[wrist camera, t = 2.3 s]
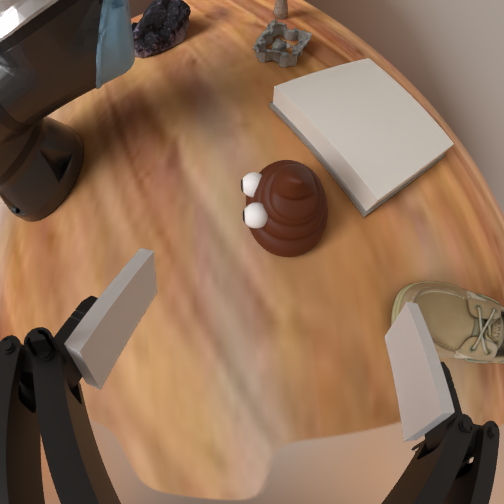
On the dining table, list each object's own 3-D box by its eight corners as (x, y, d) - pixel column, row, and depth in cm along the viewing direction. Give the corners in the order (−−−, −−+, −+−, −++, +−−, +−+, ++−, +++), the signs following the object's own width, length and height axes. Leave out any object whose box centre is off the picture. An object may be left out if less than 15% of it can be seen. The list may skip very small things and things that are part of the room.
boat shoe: (374, 340, 26) (414, 347, 18) (395, 263, 28) (436, 246, 20) (496, 373, 24) (532, 377, 16) (509, 316, 26) (545, 312, 18)
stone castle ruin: (273, 34, 37) (274, 17, 33) (312, 45, 37) (316, 27, 33) (247, 60, 35) (247, 40, 31) (292, 72, 34) (295, 53, 30)
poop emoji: (328, 256, 28) (361, 229, 19) (246, 262, 28) (243, 236, 19) (315, 171, 30) (335, 121, 21) (240, 174, 30) (236, 121, 21)
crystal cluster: (112, 64, 37) (95, 29, 27) (144, 24, 39) (135, -8, 29) (173, 65, 37) (163, 24, 27) (202, 25, 39) (198, -12, 29)
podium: (269, 106, 32) (270, 85, 28) (361, 73, 35) (368, 56, 31) (363, 217, 29) (377, 203, 25) (442, 158, 31) (456, 144, 27)
